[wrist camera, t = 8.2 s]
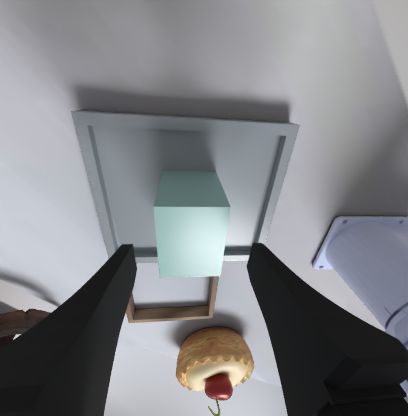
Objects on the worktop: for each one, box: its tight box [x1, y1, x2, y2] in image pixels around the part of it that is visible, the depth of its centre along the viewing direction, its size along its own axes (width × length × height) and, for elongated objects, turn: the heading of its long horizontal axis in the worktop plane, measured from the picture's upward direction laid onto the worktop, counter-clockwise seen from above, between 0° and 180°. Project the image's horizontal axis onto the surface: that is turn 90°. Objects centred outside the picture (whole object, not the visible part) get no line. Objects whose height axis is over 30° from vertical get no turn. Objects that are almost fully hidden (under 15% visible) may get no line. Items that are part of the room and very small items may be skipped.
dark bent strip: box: [126, 276, 219, 323], centre depth 25 cm, size 11×9×2 cm
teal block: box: [154, 170, 231, 278], centre depth 15 cm, size 4×6×6 cm
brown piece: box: [0, 309, 50, 348], centre depth 24 cm, size 12×10×8 cm
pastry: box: [176, 327, 254, 416], centre depth 30 cm, size 12×12×9 cm
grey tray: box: [71, 110, 300, 263], centre depth 18 cm, size 16×14×2 cm
